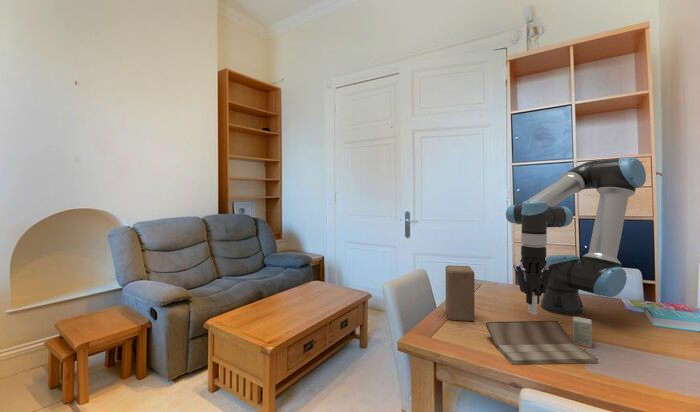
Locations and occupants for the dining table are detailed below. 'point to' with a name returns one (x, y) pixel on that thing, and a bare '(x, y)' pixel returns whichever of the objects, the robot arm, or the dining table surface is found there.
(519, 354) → the laid board
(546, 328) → the plank
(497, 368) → the dining table surface
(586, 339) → the small box
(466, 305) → the wooden block
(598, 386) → the dining table surface
